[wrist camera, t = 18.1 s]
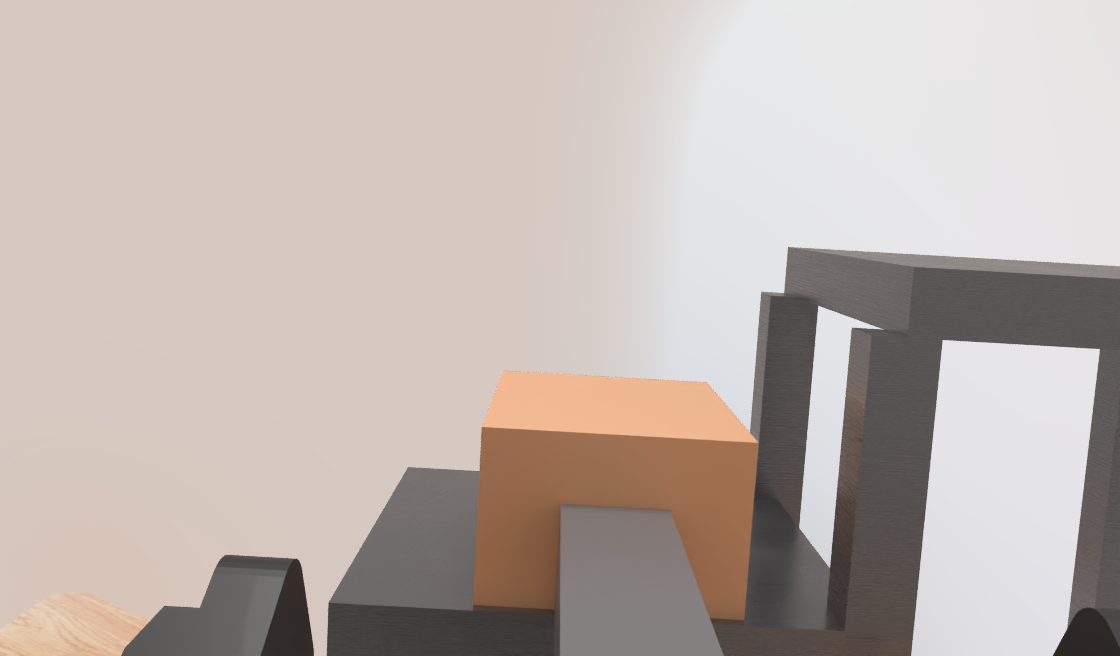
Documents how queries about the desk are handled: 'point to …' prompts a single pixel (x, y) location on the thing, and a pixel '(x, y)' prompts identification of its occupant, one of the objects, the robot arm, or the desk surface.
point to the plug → (615, 511)
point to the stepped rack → (792, 470)
